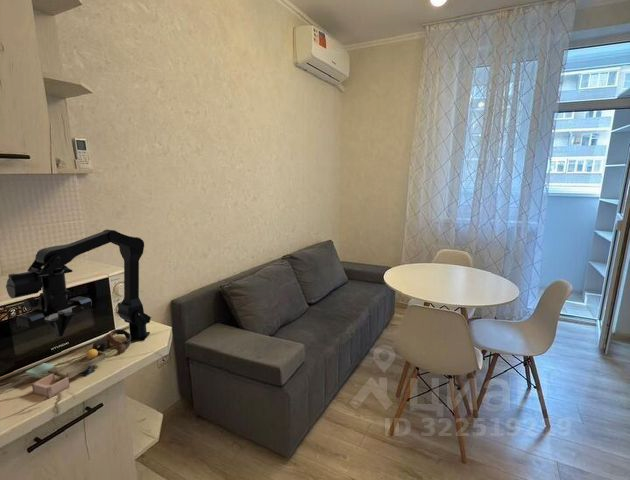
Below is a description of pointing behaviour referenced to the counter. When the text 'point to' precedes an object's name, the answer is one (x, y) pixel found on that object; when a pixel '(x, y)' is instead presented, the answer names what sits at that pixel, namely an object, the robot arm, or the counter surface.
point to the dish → (50, 386)
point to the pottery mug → (113, 341)
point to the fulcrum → (87, 372)
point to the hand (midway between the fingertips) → (60, 336)
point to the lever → (67, 367)
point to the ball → (92, 354)
